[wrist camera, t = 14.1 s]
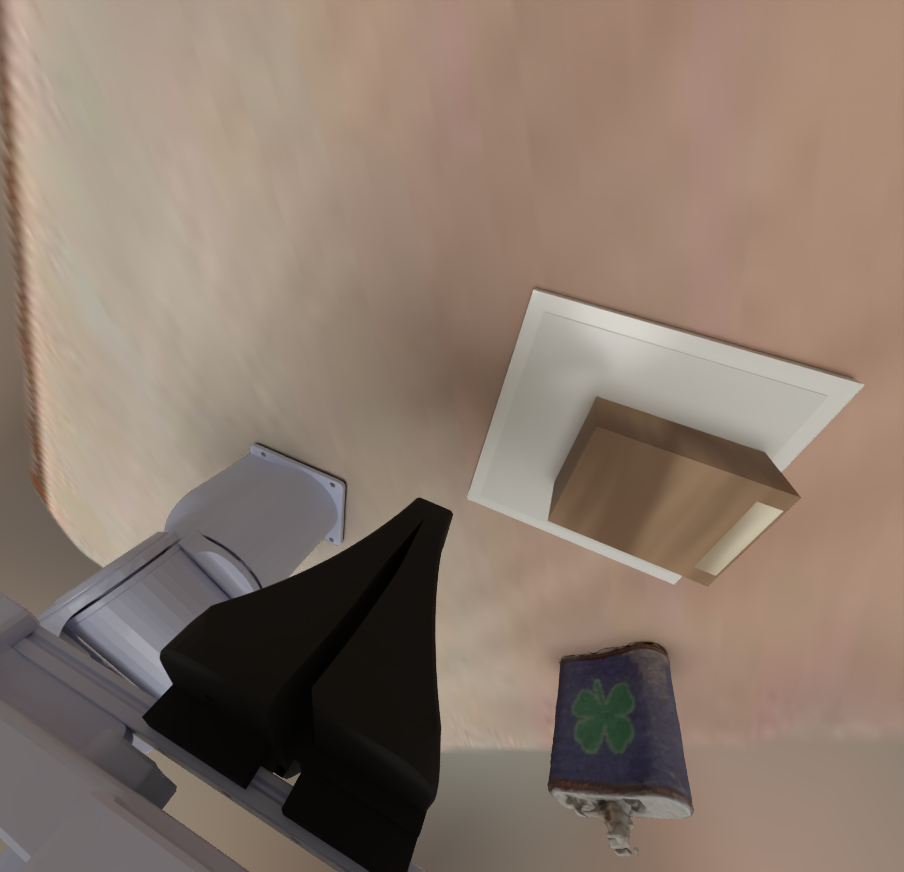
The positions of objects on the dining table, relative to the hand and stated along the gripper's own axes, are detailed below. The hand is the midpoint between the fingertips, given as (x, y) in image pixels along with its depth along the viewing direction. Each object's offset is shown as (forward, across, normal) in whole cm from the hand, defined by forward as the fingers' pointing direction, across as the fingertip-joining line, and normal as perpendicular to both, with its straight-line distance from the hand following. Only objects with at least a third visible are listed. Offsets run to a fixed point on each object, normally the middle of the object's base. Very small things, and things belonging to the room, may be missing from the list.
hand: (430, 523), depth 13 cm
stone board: (+10, -7, 0) cm, 13 cm away
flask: (+11, -15, +18) cm, 26 cm away
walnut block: (+8, -5, 0) cm, 9 cm away
